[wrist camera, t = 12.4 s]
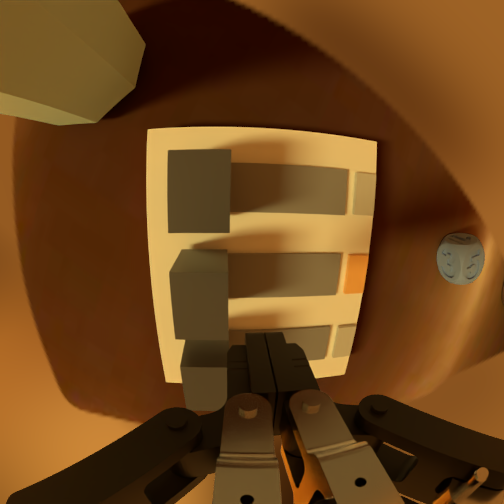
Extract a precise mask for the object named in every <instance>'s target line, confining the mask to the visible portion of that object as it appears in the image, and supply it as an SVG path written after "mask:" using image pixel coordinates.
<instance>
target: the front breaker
mask: <svg viewBox="0 0 504 504" xmlns="http://www.w3.org/2000/svg"><path fill="white" fill-rule="evenodd" d="M230 186H231V149H186V150H168V162H167V212H168V233H230Z"/></svg>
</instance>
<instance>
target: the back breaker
mask: <svg viewBox="0 0 504 504" xmlns="http://www.w3.org/2000/svg"><path fill="white" fill-rule="evenodd" d="M228 350H229V340H185V344H184V348H183V353H182V359H181V364H180V371H181V378H182V384H183V390H184V396H185V402H186V408H187V409H189V410H198V411H217V410H219V409H220V408H222V407H223V406H224V404H225V403H226V400H227V352H228Z"/></svg>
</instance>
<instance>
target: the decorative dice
mask: <svg viewBox="0 0 504 504" xmlns="http://www.w3.org/2000/svg"><path fill="white" fill-rule="evenodd" d="M484 260H485V254H484V249H483V246H482V244H481V242H480V240H479V239H478V238H477V237H476V236H474V235H471V234H466V233H454V234H449V235H447V236H446V237H445V238H444V239H443V240H442V242H441V243H440V245H439V248H438V251H437V264H438V268H439V271H440V273H441V275H442V276H443V277H444V278H445V279H446V280H447V281H448V282H450V283H454V284H461V285H462V284H469V283H472V282H473V281H474V280H476V279H477V277H478V276H479V275H480V273H481V271H482V268H483V265H484Z"/></svg>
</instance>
